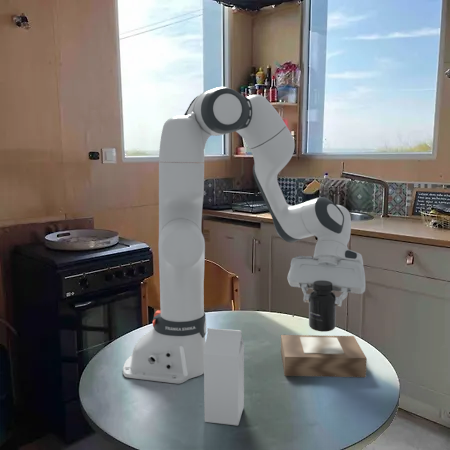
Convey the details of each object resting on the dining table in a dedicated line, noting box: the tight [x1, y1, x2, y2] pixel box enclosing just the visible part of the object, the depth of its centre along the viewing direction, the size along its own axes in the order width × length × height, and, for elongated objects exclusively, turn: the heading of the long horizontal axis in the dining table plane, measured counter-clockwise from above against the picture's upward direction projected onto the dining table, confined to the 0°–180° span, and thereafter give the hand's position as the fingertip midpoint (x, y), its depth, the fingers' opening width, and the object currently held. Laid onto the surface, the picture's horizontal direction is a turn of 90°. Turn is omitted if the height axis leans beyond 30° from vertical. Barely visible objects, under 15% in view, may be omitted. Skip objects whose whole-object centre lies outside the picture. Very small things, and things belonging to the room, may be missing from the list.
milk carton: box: [203, 327, 245, 426], centre depth 95 cm, size 7×7×19 cm
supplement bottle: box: [308, 280, 337, 333], centre depth 118 cm, size 7×7×12 cm
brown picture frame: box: [280, 334, 368, 378], centre depth 120 cm, size 20×14×5 cm
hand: (321, 303), depth 117 cm, fingers closed on supplement bottle, 7 cm apart
